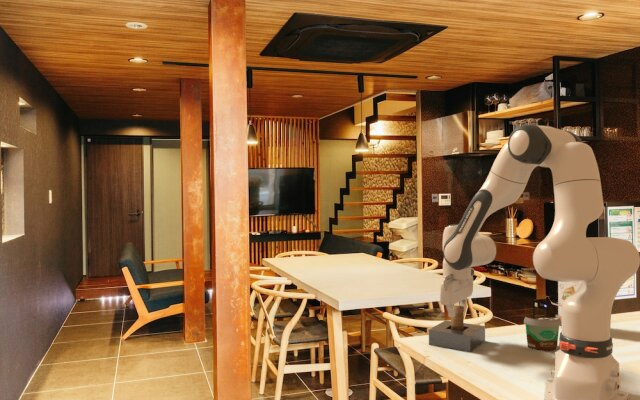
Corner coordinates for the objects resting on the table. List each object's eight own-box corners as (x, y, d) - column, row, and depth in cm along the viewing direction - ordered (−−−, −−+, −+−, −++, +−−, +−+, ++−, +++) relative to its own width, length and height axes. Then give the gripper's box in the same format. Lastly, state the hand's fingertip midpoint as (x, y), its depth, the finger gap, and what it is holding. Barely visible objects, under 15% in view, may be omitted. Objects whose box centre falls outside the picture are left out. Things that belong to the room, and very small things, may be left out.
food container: (535, 353, 163) (535, 321, 163) (523, 347, 169) (523, 316, 169) (570, 350, 166) (570, 319, 165) (557, 344, 172) (557, 314, 171)
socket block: (470, 352, 166) (470, 336, 165) (428, 344, 174) (428, 329, 174) (485, 340, 177) (485, 326, 177) (445, 334, 185) (445, 320, 185)
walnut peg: (461, 345, 173) (460, 308, 172) (449, 343, 175) (449, 307, 175) (465, 342, 176) (465, 306, 175) (453, 340, 178) (453, 305, 178)
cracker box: (557, 325, 195) (557, 268, 194) (570, 323, 197) (570, 267, 196) (587, 335, 182) (587, 274, 181) (600, 333, 184) (600, 273, 183)
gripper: (453, 277, 164) (454, 321, 164) (476, 269, 181) (476, 309, 181) (434, 276, 168) (435, 319, 168) (458, 267, 184) (458, 307, 185)
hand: (457, 314), depth 175 cm, fingers open, 8 cm apart
